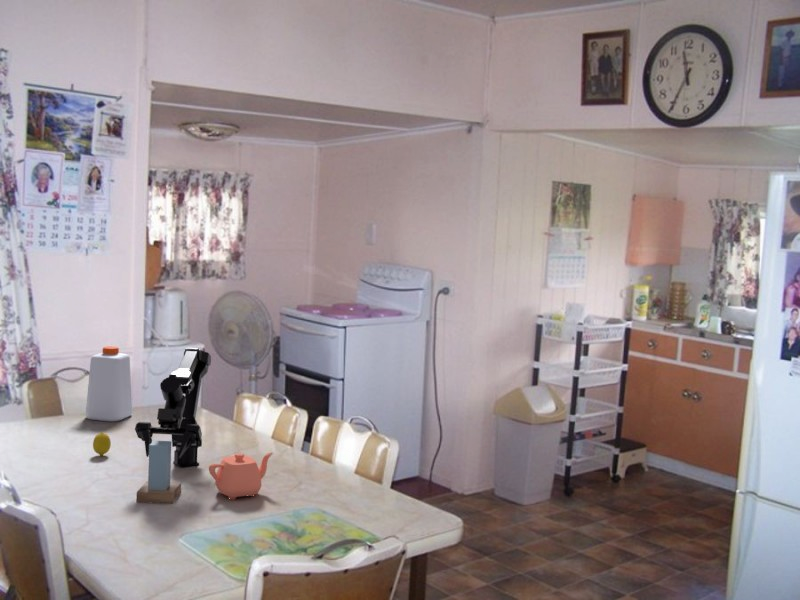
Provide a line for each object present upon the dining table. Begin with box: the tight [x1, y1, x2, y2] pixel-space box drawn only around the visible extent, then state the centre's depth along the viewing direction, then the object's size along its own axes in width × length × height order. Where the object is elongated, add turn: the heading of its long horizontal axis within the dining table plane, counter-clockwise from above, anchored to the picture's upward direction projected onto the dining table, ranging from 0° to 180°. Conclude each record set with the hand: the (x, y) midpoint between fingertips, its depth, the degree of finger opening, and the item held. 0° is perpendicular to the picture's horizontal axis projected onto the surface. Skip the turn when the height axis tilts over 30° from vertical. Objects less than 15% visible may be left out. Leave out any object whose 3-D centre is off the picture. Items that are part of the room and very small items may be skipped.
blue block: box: [147, 440, 172, 491], centre depth 237 cm, size 5×5×13 cm
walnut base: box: [135, 480, 182, 505], centre depth 238 cm, size 10×10×3 cm
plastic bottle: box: [85, 345, 133, 422], centre depth 327 cm, size 15×15×28 cm
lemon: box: [92, 432, 112, 457], centre depth 275 cm, size 6×6×8 cm
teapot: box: [208, 452, 274, 500], centre depth 244 cm, size 13×20×12 cm, turn 122°
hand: (163, 457), depth 240 cm, fingers open, 9 cm apart
